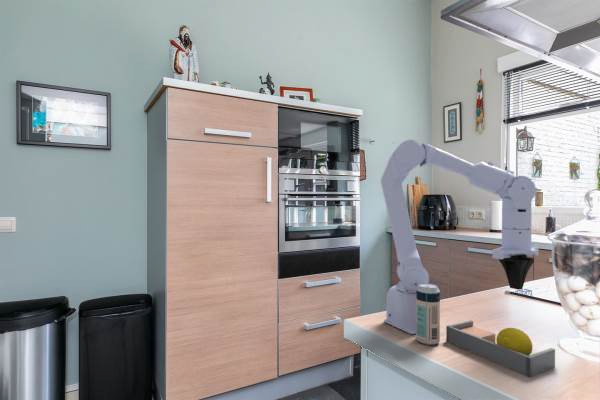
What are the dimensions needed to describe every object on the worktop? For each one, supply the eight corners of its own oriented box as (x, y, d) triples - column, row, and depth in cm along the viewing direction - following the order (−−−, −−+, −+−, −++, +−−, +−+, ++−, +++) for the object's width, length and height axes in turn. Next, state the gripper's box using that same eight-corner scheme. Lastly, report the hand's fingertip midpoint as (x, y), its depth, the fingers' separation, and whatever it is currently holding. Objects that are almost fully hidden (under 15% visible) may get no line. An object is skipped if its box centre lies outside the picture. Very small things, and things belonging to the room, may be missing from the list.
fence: (446, 340, 74) (446, 325, 74) (470, 334, 78) (470, 320, 78) (529, 376, 59) (529, 358, 59) (554, 366, 62) (555, 349, 62)
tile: (458, 341, 74) (458, 329, 74) (473, 337, 77) (473, 326, 77) (480, 350, 70) (480, 337, 70) (495, 345, 72) (495, 333, 72)
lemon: (518, 324, 69) (501, 318, 65) (545, 346, 65) (529, 341, 61) (501, 345, 70) (483, 340, 66) (526, 367, 66) (509, 364, 62)
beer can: (441, 340, 74) (441, 284, 74) (438, 348, 70) (438, 289, 70) (417, 335, 77) (418, 282, 77) (413, 343, 72) (414, 286, 72)
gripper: (515, 231, 71) (515, 296, 71) (553, 229, 78) (552, 289, 78) (483, 228, 77) (483, 288, 77) (521, 227, 84) (520, 282, 84)
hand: (516, 288), depth 78 cm, fingers closed
